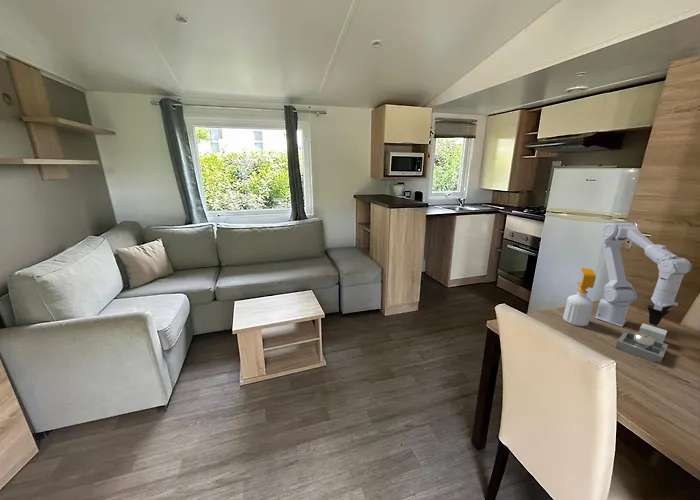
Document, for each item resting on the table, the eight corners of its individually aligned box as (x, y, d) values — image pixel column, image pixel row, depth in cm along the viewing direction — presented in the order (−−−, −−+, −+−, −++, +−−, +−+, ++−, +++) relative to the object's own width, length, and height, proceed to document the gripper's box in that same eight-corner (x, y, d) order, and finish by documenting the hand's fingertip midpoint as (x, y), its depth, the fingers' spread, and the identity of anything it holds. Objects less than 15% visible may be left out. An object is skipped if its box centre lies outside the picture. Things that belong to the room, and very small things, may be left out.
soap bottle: (583, 317, 132) (596, 267, 124) (591, 328, 123) (606, 274, 116) (559, 314, 134) (571, 265, 127) (566, 324, 126) (579, 272, 119)
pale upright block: (636, 338, 117) (640, 327, 115) (639, 333, 120) (642, 323, 118) (661, 346, 111) (665, 335, 110) (663, 341, 114) (667, 330, 113)
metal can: (629, 346, 109) (633, 335, 108) (632, 341, 112) (636, 330, 111) (649, 353, 105) (653, 341, 104) (652, 348, 108) (656, 336, 107)
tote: (615, 347, 110) (617, 341, 109) (623, 336, 117) (625, 330, 116) (660, 364, 101) (662, 357, 100) (665, 351, 108) (668, 344, 107)
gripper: (679, 298, 101) (666, 332, 105) (684, 288, 109) (673, 319, 113) (650, 291, 106) (640, 323, 110) (658, 282, 114) (648, 312, 118)
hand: (655, 321), depth 112 cm, fingers open, 7 cm apart
